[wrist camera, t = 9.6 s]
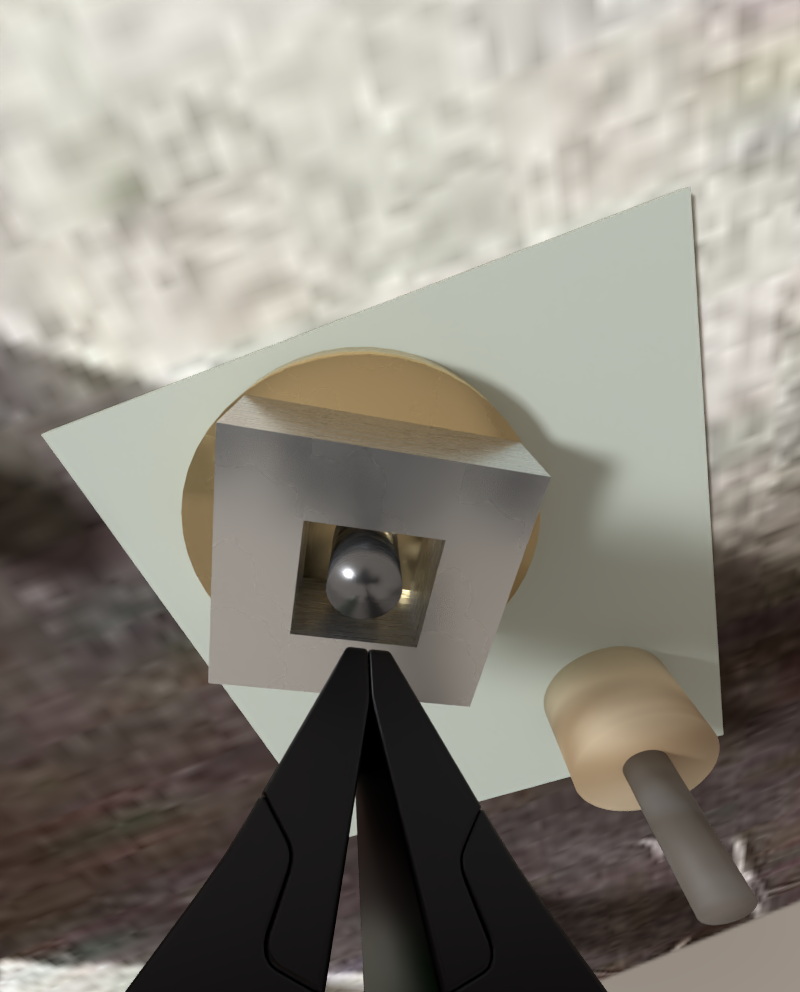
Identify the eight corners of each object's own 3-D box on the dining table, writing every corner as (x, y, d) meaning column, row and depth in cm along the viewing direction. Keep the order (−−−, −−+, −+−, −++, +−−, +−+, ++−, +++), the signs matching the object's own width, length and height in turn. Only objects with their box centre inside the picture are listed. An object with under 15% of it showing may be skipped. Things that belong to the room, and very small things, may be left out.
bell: (552, 587, 16) (603, 673, 13) (287, 669, 17) (265, 772, 14) (478, 290, 12) (522, 296, 8) (131, 420, 13) (41, 475, 9)
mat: (717, 726, 20) (723, 734, 20) (335, 831, 22) (334, 840, 22) (680, 188, 12) (690, 186, 11) (50, 430, 13) (41, 434, 13)
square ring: (455, 645, 15) (470, 706, 13) (233, 620, 14) (208, 683, 12) (519, 441, 12) (550, 476, 10) (245, 394, 11) (216, 421, 9)
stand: (673, 717, 19) (819, 930, 13) (556, 750, 20) (643, 970, 14) (662, 630, 17) (829, 833, 11) (531, 669, 18) (621, 885, 11)
